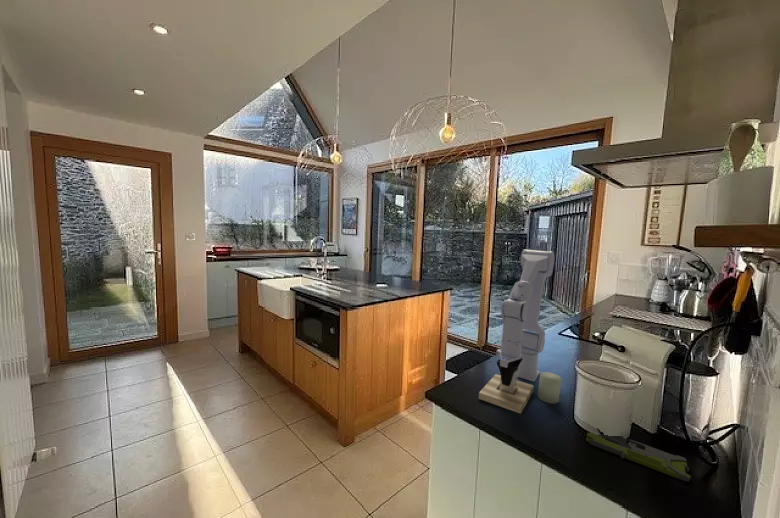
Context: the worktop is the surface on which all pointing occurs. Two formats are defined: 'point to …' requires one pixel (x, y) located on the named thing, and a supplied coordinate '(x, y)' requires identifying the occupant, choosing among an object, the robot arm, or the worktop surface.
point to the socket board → (506, 395)
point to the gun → (642, 454)
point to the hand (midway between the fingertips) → (507, 382)
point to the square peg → (513, 384)
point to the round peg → (549, 387)
